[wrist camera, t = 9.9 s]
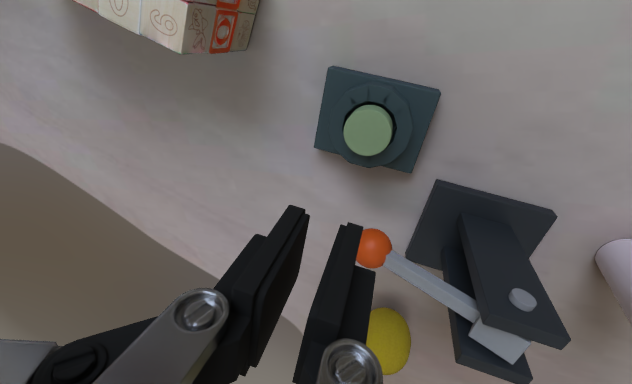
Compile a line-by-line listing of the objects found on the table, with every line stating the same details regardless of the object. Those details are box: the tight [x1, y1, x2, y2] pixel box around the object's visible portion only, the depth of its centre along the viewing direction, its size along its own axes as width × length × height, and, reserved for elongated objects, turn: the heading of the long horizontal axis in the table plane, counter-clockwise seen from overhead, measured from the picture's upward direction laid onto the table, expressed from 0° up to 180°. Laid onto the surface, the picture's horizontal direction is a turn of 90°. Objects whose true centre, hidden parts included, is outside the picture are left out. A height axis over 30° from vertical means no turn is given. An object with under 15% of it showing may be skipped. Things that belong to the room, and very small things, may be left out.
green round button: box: [343, 105, 393, 156], centre depth 23 cm, size 4×4×2 cm
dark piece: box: [314, 66, 441, 174], centre depth 25 cm, size 9×7×4 cm
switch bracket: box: [406, 179, 571, 384], centre depth 24 cm, size 10×9×13 cm
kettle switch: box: [356, 228, 531, 365], centre depth 22 cm, size 13×3×3 cm, turn 81°
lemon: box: [366, 307, 411, 375], centre depth 33 cm, size 6×6×8 cm
